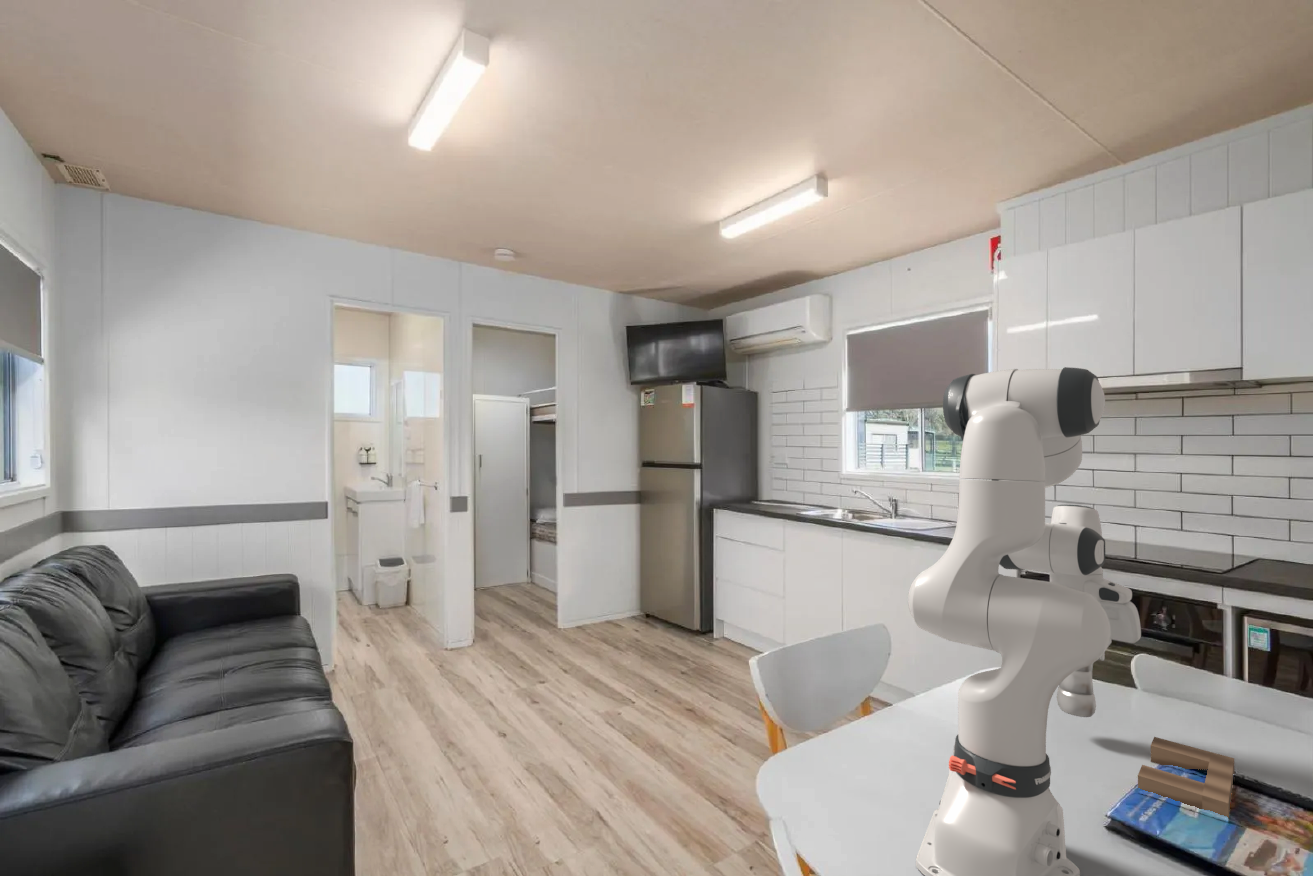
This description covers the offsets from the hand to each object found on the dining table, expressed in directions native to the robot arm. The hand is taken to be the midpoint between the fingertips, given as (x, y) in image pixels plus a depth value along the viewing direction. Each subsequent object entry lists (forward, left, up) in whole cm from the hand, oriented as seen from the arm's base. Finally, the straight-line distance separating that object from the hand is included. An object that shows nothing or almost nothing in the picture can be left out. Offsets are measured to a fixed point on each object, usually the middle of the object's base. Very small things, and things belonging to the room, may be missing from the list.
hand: (1076, 654), depth 119 cm
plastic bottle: (0, 0, -12) cm, 12 cm away
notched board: (-6, -17, -17) cm, 25 cm away
